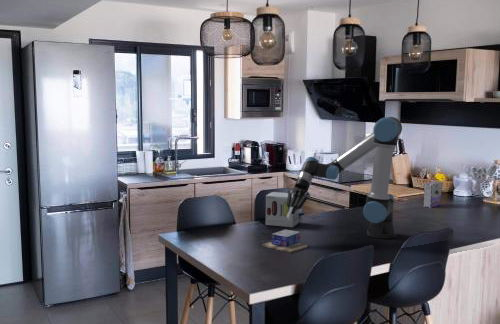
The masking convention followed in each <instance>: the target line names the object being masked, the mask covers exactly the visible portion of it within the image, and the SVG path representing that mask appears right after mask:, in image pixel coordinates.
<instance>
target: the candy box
mask: <svg viewBox="0 0 500 324" xmlns="http://www.w3.org/2000/svg"><path fill="white" fill-rule="evenodd" d="M442 184H443V183H442V182H441V181H440V182H439V181H431V182H427V183H424V184H423V204H422V206H423V208H428V209H433V208H436V207H439V206H441V205H442V190H443V189H442V187H443V185H442Z"/></svg>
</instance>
